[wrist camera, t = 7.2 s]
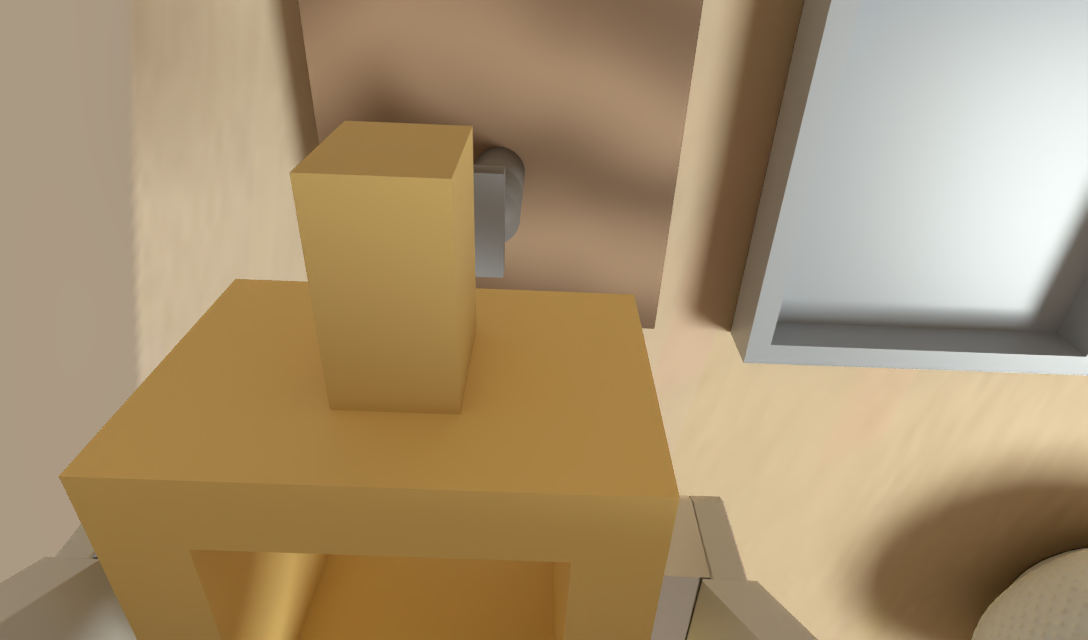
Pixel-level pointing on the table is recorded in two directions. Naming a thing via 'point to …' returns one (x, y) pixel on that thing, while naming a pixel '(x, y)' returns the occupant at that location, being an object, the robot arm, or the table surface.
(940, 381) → the table surface
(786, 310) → the tray
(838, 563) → the table surface
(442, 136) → the collar
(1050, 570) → the cereal bowl
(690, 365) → the table surface
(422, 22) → the board with post
